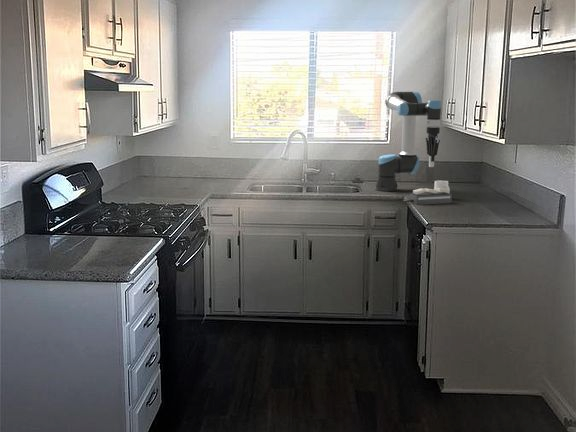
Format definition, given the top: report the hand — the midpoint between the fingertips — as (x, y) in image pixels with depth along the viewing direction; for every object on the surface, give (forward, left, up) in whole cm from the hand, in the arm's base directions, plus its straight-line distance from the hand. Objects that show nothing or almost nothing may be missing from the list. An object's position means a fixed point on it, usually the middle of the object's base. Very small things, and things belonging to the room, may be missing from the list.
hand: (431, 166), depth 383 cm
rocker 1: (+2, -8, -14) cm, 17 cm away
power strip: (+2, -4, -21) cm, 22 cm away
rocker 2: (+2, -1, -14) cm, 15 cm away
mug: (-10, +14, -21) cm, 27 cm away
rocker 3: (+2, +7, -14) cm, 16 cm away
